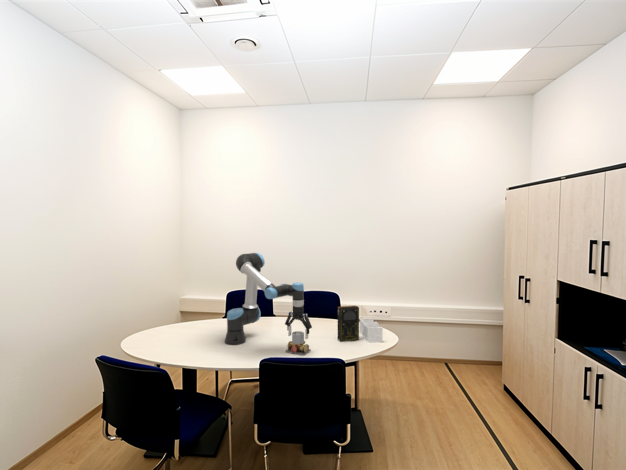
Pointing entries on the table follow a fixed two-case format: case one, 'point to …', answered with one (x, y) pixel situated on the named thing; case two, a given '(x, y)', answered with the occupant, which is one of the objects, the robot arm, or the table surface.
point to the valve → (298, 348)
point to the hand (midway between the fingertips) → (298, 337)
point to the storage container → (371, 330)
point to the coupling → (298, 337)
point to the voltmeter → (348, 323)
